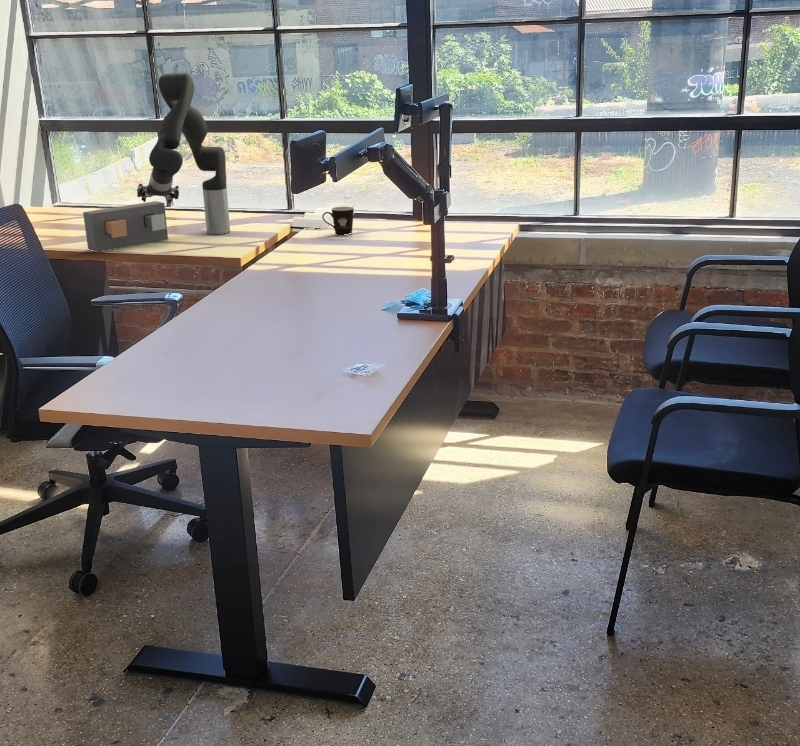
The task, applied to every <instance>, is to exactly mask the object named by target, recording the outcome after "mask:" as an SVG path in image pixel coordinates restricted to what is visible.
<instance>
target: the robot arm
mask: <svg viewBox="0 0 800 746" xmlns="http://www.w3.org/2000/svg"><path fill="white" fill-rule="evenodd" d="M194 83H195V82H194V80H193V78H192V76H191V74H190V73H188V72H172V73H171V72H169V73H168V72H167V73H164V74H162V75H160V76H159V78H158V89H159V91H160V95H161V97H162V99H163V100H164V102H165V104H166V105H167V107H168V108H169V109H170V111H169V112H167V114H166V115H165V116H164V117H163V119H162V120H161V124H160V127H159V132H158V133H159V134H158V138H157V141H156V143H155V145H154V146H153V148H152V149H151V150H150V153H149V157H148V160H149V161H148V162H149V164H150V166H152V171H151V174H150V175H149V182H148V184H147V185H146V186H145V185H143V183H139V184H138V186H137V189H136V193H137V194H136V198H141V201H143V202H142V203H147V202H146V201H147V198H152V197H156V196H157V197H164V198H165V199H167V200H166V201H167V204H170V203H172V202H173V201H174V200H178V199H179V196H180V186H179V185H176V186H174V187H172V185H173V181H174V176H175V175H176V174H178V172H179V171H180V169H181V168H182V166H183V162H184V160H183V155H182V153H180V152H179V151H178V150H176V149H178V148H179V146H180V144H181V138H182V135H183V136H184V138H185V140H186V142H187V143H188V146H189V148H190V149H191V154H192V156H193V159H194V161H195V164H196V166H197V168H198V170H200V171H203V172H215V175H214V176H213V177H212V178H209V179H206V180H204V181H203V182H202V184H201V185H202V187H201V188H202V194H203V195H202V196H203V204H204V205H203V206H204V207H203V209H204V218H205V228H206V234H209V235H223V234H224V233H225V234H228V233H227V232H229V231H230V232H231V227H230V226H231V225H230V213H229V201H228V189H227V169H226V168H227V167H226V166H227V165H226V164H227V163H226V152H225V150H224V148H223V147H222V146H204V145H203V143H204V141H205V139H206V137H207V135H208V125H207V123H206V121H205V118H204V116H203V114H202V113H201V112H200V111H199V110H198V109H197V108H195V107H194V106H193V105H191V104H192V100H193V97H194V94H195V84H194ZM230 232H229V233H230Z"/></svg>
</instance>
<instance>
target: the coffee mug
mask: <svg viewBox="0 0 800 746" xmlns="http://www.w3.org/2000/svg"><path fill="white" fill-rule="evenodd" d="M326 213H328V214H330V215H331V216H332V218H333V221H334V224H330V223H328V222H327V221H326V220H325V219H324V215H325V214H326ZM353 213H354V214H355V208H353V207H334V208H332V213H330V212H325V213H324V214H323V216H322V218H323V220H324V221H325V222H326V223H327V224H329V225H330V227H333V229H334V233H335V235H336V234H337V235H336V236H338V235H344V234H349V233H352V234H353V223H354V215H353Z"/></svg>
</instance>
